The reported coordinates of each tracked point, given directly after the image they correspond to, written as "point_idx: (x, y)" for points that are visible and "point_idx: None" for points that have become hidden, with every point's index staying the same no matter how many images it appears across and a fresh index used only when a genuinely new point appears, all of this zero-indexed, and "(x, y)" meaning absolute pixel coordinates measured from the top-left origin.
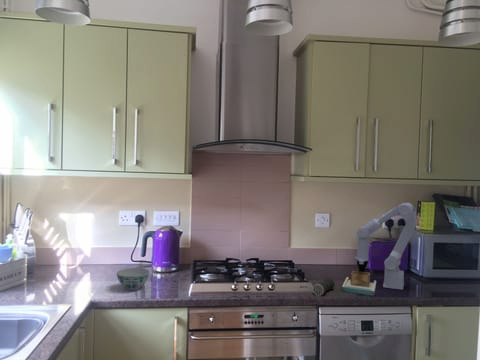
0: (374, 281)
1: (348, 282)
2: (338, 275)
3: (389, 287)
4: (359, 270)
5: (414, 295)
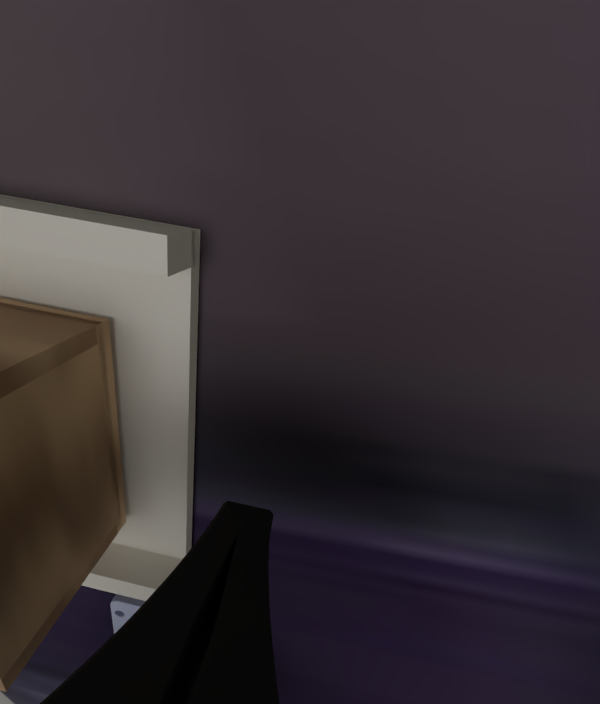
0: (124, 584)
1: (18, 254)
2: (594, 26)
3: (114, 631)
4: (168, 578)
5: (47, 691)
